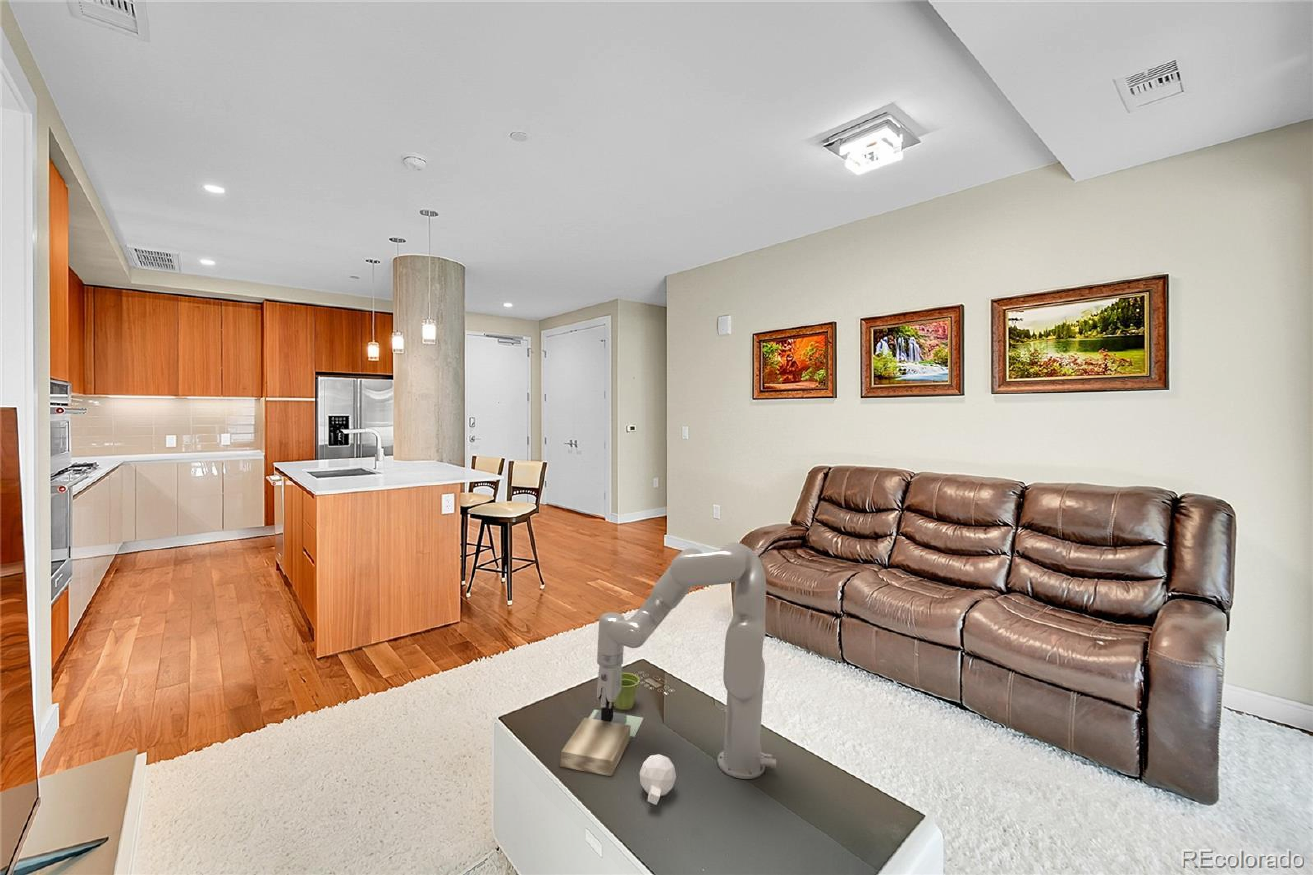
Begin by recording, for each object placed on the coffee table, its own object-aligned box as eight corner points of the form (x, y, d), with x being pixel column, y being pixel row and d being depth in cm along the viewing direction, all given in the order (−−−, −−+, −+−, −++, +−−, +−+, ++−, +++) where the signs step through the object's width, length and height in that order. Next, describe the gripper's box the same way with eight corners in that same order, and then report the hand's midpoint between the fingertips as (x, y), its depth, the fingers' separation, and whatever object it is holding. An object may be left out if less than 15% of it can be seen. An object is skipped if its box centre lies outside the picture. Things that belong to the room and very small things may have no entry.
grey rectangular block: (621, 724, 165) (621, 731, 165) (626, 714, 171) (626, 720, 171) (592, 719, 167) (592, 726, 167) (598, 709, 173) (598, 716, 173)
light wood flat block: (629, 739, 162) (630, 725, 162) (611, 776, 144) (612, 761, 144) (584, 731, 165) (584, 717, 165) (560, 766, 147) (561, 751, 147)
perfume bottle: (637, 770, 144) (630, 806, 132) (649, 740, 143) (643, 774, 131) (669, 783, 144) (664, 821, 132) (681, 753, 142) (678, 789, 130)
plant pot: (643, 704, 182) (645, 678, 182) (627, 716, 174) (628, 688, 174) (620, 696, 187) (621, 670, 187) (603, 707, 179) (604, 680, 179)
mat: (643, 718, 173) (643, 717, 173) (634, 737, 163) (634, 736, 163) (594, 710, 177) (594, 709, 177) (582, 728, 166) (582, 727, 166)
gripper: (615, 669, 154) (611, 735, 154) (629, 649, 169) (626, 709, 169) (589, 665, 156) (586, 731, 156) (605, 645, 170) (602, 705, 171)
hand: (607, 719), depth 163 cm, fingers closed
